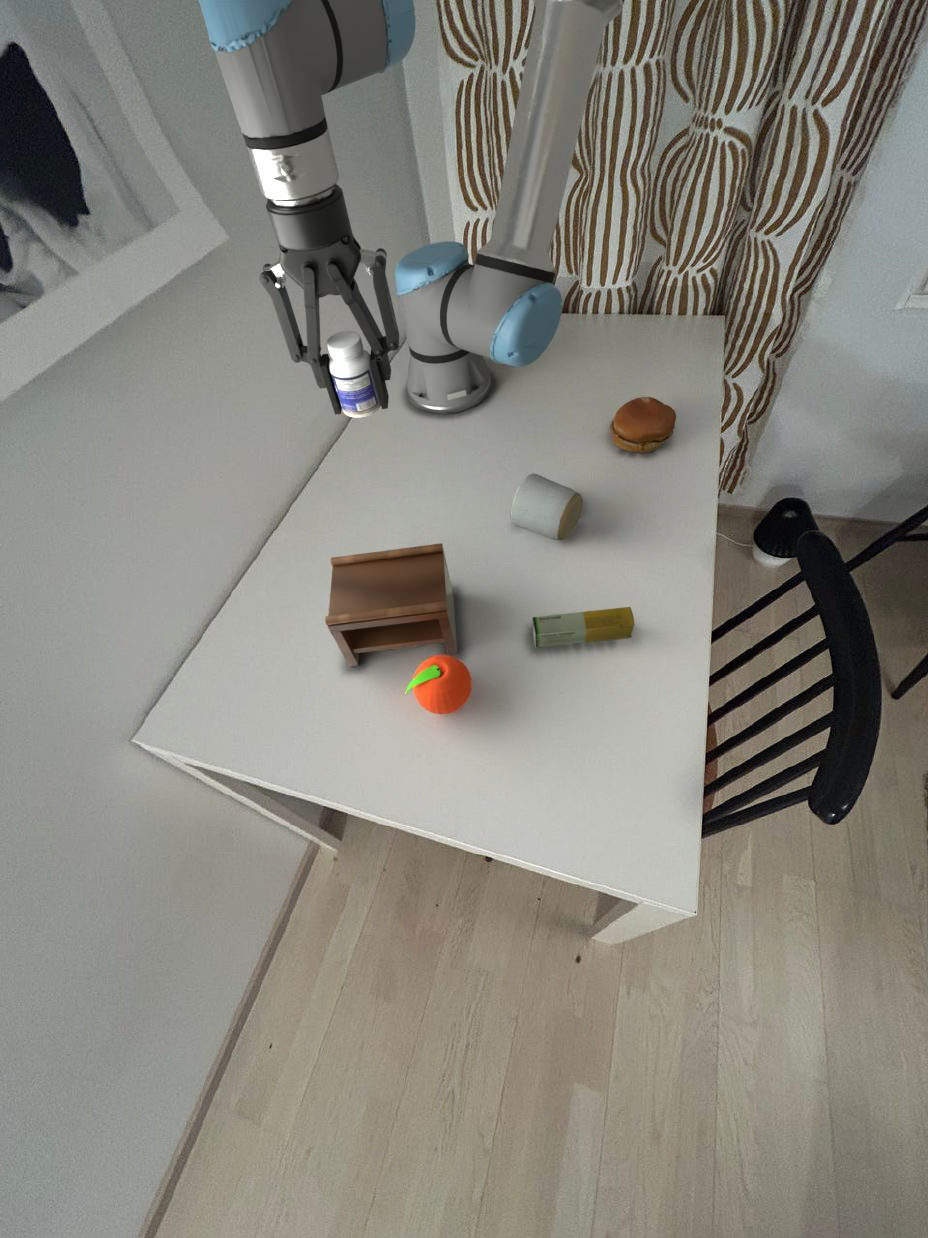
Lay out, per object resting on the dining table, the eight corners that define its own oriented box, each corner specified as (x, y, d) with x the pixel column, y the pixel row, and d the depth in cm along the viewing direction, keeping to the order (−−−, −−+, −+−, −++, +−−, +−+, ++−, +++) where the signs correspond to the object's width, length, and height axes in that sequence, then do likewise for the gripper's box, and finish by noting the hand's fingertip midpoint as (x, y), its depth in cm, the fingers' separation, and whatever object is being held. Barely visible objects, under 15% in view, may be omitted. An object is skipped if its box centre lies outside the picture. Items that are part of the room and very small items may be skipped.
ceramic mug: (561, 553, 81) (563, 513, 75) (510, 534, 85) (508, 494, 78) (594, 505, 86) (598, 464, 80) (544, 489, 89) (545, 448, 83)
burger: (621, 460, 91) (625, 435, 87) (602, 424, 96) (605, 399, 93) (683, 446, 91) (689, 421, 87) (661, 412, 96) (665, 386, 93)
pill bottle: (348, 394, 77) (329, 327, 70) (387, 394, 76) (371, 326, 69) (337, 418, 74) (315, 351, 67) (376, 419, 73) (359, 351, 66)
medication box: (534, 649, 73) (533, 635, 70) (532, 630, 75) (530, 615, 71) (632, 639, 72) (635, 623, 69) (627, 620, 73) (631, 604, 70)
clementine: (422, 737, 68) (410, 710, 62) (402, 690, 72) (389, 661, 66) (484, 709, 69) (478, 680, 63) (461, 664, 73) (453, 633, 67)
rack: (352, 604, 81) (330, 556, 72) (452, 592, 80) (441, 541, 72) (349, 666, 75) (324, 621, 67) (457, 653, 74) (445, 606, 66)
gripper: (200, 220, 54) (287, 431, 73) (395, 192, 53) (433, 414, 72) (217, 189, 59) (295, 396, 77) (398, 164, 57) (433, 379, 76)
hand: (361, 404), depth 74 cm, fingers closed on pill bottle, 5 cm apart
